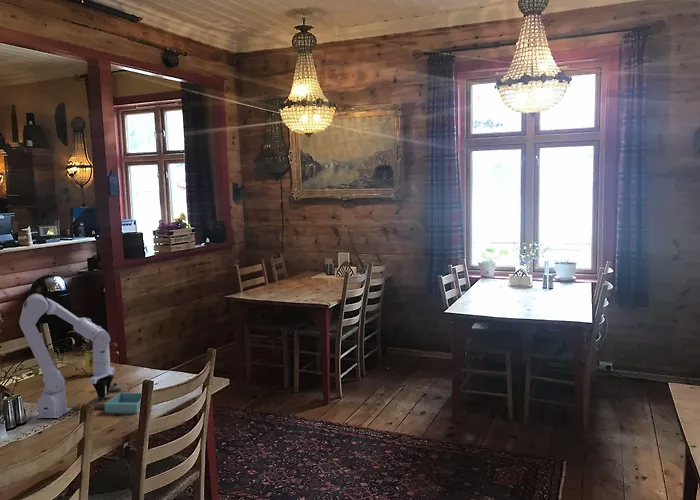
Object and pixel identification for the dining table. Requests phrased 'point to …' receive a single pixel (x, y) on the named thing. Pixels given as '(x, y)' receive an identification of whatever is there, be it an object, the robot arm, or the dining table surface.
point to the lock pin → (105, 396)
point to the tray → (124, 404)
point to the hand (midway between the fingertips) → (103, 396)
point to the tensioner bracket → (108, 396)
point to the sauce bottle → (89, 359)
